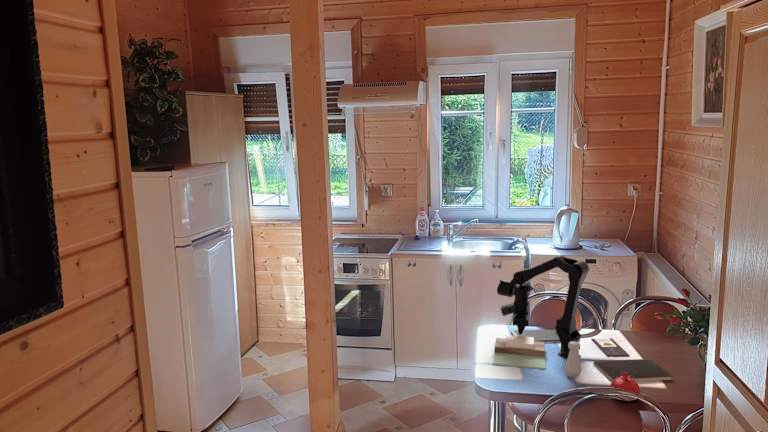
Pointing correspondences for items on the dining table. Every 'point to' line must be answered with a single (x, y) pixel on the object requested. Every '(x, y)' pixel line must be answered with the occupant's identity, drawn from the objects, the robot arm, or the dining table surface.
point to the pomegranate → (626, 383)
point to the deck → (537, 351)
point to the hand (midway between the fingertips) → (520, 334)
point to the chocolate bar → (610, 347)
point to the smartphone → (539, 335)
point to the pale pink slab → (520, 342)
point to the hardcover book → (633, 369)
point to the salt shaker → (573, 360)
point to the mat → (519, 360)
